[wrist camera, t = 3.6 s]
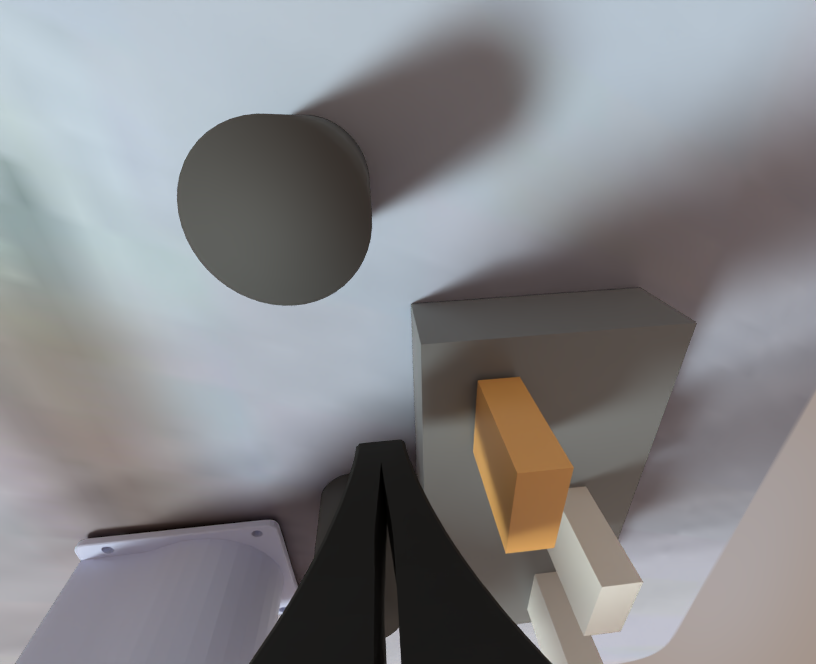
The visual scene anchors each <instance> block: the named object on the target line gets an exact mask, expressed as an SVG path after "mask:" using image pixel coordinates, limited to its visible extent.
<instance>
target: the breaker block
mask: <svg viewBox="0 0 816 664" xmlns="http://www.w3.org/2000/svg"><path fill="white" fill-rule="evenodd" d="M411 319H412V349H413V379H414V409H415V439H416V470H417V478H418V480H419V483H420V485H421V487H422V489H423V491H424V493H425V495H426V496H427V498H428V500H429V502H430V504H431V506H432V508H433V510H434V511H435V513H436V515H437V517H438V518H439V520H440V522H441V523H442V525H443V527H444V529H445V530H446V532H447V533H448V535H449V537H450V538H451V540H452V541H453V543H454V544H455V546H456V547H457V549H458V550H459V552H460V553H461V555H462V556H463V557H464V559H465V560H466V562H467V563H468V565H469V566H470V567H471V569H472V570H473V571H474V573H475V574H476V576H477V577H478V578H479V580H480V581H481V582H482V583H483V585H484V586H485V587H486V588H487V590H488V591H489V592H490V593H491V595H492V596H493V597H494V598H495V600H496V601H497V602H498V603H499V605H500V606H501V607H502V608H503V610H504V611H505V612H506V613H507V614H508V616H509V617H510V618H511V619H512V620H513V621H514V622H515V624H521V623H529V622H532V625H533V628H534V631H535V634H536V637H537V640H538V643H539V646H540V650H541V652H542V654H543V655H544V656H545V657H546V658H547V659H548V660H549V661H550V662H551V663H552V664H603V662H602V659H601V657H600V655H599V653H598V650H597V648H596V646H595V643H594V641H593V639H592V637H591V635H597V634H605V633H612V632H620V631H621V629H622V627H623V625H624V623H625V621H626V618H627V616H628V614H629V612H630V610H631V607H632V605H633V603H634V601H635V599H636V596H637V594H638V592H639V590H640V588H641V585H642V583H643V581H642V579H641V578H640V576H639V574H638V573H637V571H636V569H635V568H634V566H633V564H632V563H631V561H630V559H629V558H628V556H627V554H626V553H625V551H624V549H623V548H622V546H621V544H620V543H619V541H618V537H619V535H620V532H621V529H622V526H623V524H624V521H625V518H626V515H627V513H628V510H629V507H630V505H631V502H632V499H633V496H634V494H635V491H636V488H637V485H638V483H639V480H640V477H641V474H642V472H643V469H644V466H645V463H646V461H647V458H648V455H649V452H650V450H651V447H652V444H653V442H654V439H655V436H656V433H657V431H658V428H659V425H660V422H661V420H662V417H663V414H664V411H665V409H666V406H667V403H668V400H669V398H670V395H671V392H672V389H673V387H674V384H675V381H676V378H677V376H678V373H679V370H680V368H681V365H682V362H683V359H684V357H685V354H686V351H687V348H688V346H689V343H690V340H691V337H692V335H693V332H694V329H695V326H696V324H697V323H696V322H695V321H693V320H692V319H690V318H688V317H687V316H685V315H683V314H682V313H680V312H679V311H677V310H675V309H674V308H672V307H671V306H669V305H667V304H666V303H664V302H663V301H661V300H659V299H658V298H656V297H654V296H653V295H651V294H650V293H648V292H646V291H645V290H643V289H642V288H627V289H613V290H599V291H585V292H571V293H557V294H543V295H529V296H515V297H501V298H487V299H473V300H459V301H445V302H431V303H417V304H411ZM511 377H520V378H521V380H522V381H523V383H524V385H525V386H526V388H527V390H528V392H529V393H530V395H531V397H532V398H533V400H534V402H535V403H536V405H537V407H538V408H539V410H540V412H541V413H542V415H543V417H544V418H545V420H546V422H547V423H548V425H549V427H550V428H551V430H552V432H553V434H554V435H555V437H556V439H557V440H558V442H559V444H560V445H561V447H562V449H563V450H564V452H565V454H566V455H567V457H568V459H569V460H570V462H571V464H572V465H573V467H574V469H573V473H572V477H571V481H570V485H569V490H568V494H567V498H566V502H565V506H564V510H563V514H562V518H561V523H560V527H559V531H558V535H557V539H556V543H555V547H554V548H550V549H541V550H533V551H524V552H515V553H507V554H506V553H505V550H504V547H503V544H502V540H501V537H500V534H499V531H498V528H497V525H496V522H495V519H494V516H493V513H492V509H491V506H490V503H489V500H488V497H487V494H486V491H485V488H484V485H483V481H482V478H481V475H480V472H479V469H478V466H477V463H476V460H475V457H474V454H473V444H474V429H475V413H476V397H477V382H478V380H488V379H499V378H511Z"/></svg>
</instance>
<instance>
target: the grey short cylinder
mask: <svg viewBox="0 0 816 664" xmlns="http://www.w3.org/2000/svg"><path fill="white" fill-rule="evenodd" d="M349 475H350V474H347V475H344V476H341V477H338V478H336V479H334V480H333V481H331V482H330V483H329V484H328V485H327V486H326V487H325V488H324V490H323V492H322V495H321V503H320V511H319V520H318V529H317V537H316V546H315V554H314V557H315V555H316V553H317V551H318V549H319V547H320V545H321V543H322V541H323V539H324V537H325V535H326V533H327V530H328V528H329V526H330V524H331V521H332V519H333V517H334V515H335V512H336V510H337V508H338V505H339V502H340V500H341V497H342V495H343V492H344V489H345V487H346V484H347V481H348V478H349ZM398 628H399V615H398V599H397V587H396V580H395V573H394V567H393V560H392V553H391V546H390V540H389V533H388V526H387V547H386V579H385V638H386V637H388V636H389V635H391V634H392V633H394V632H395V631H396V630H397V629H398Z"/></svg>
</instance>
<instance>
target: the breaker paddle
mask: <svg viewBox="0 0 816 664" xmlns="http://www.w3.org/2000/svg"><path fill="white" fill-rule="evenodd" d="M473 454H474V457H475V460H476V463H477V466H478V469H479V472H480V475H481V478H482V481H483V485H484V488H485V491H486V494H487V497H488V500H489V503H490V506H491V509H492V513H493V516H494V519H495V522H496V525H497V528H498V531H499V534H500V537H501V540H502V544H503V547H504V550H505V553H506V554H507V553H515V552H524V551H533V550H541V549H550V548H554V547H555V543H556V539H557V535H558V531H559V527H560V523H561V518H562V514H563V510H564V506H565V502H566V498H567V494H568V490H569V485H570V481H571V477H572V473H573V469H574V467H573V465H572V464H571V462H570V460H569V459H568V457H567V455H566V454H565V452H564V450H563V449H562V447H561V445H560V444H559V442H558V440H557V439H556V437H555V435H554V434H553V432H552V430H551V428H550V427H549V425H548V423H547V422H546V420H545V418H544V417H543V415H542V413H541V412H540V410H539V408H538V407H537V405H536V403H535V402H534V400H533V398H532V397H531V395H530V393H529V392H528V390H527V388H526V386H525V385H524V383H523V381H522V380H521V378H520V377H511V378H499V379H488V380H478V382H477V397H476V413H475V429H474V444H473Z"/></svg>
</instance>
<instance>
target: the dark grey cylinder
mask: <svg viewBox="0 0 816 664" xmlns="http://www.w3.org/2000/svg"><path fill="white" fill-rule="evenodd" d="M177 204H178V213H179V217H180V221H181V226H182V228H183V231H184V234H185V236H186V239H187V241H188V242H189V244H190V246H191V248H192V250H193V252H194V253H195V254H196V256H197V257H198V259H199V260H200V262H201V263H202V264H203V265H204V266H205V267H206V269H207V270H208V271H209V272H210V273H211V274H213V275H214V276H215V277H216V278H217V279H218V280H219V281H221V282H222V283H223V284H225V285H226V286H227V287H229V288H231V289H232V290H234V291H236V292H237V293H239V294H241V295H244V296H246V297H248V298H250V299H253V300H256V301H259V302H263V303H268V304H274V305H283V306H284V305H301V304H307V303H311V302H315V301H318V300H320V299H323V298H325V297H327V296H329V295H331V294H333V293H335V292H336V291H337V290H339V289H340V288H341V287H343V286H344V285H345V284H346V283H347V282H348V281H349V280H350V279H351V278H352V277H353V276H354V274H355V273H356V272H357V271H358V269H359V267H360V266H361V264H362V262H363V260H364V258H365V255H366V253H367V251H368V247H369V243H370V239H371V231H372V212H371V198H370V183H369V173H368V168H367V164H366V161H365V158H364V156H363V153H362V152H361V150H360V148H359V146H358V145H357V143H356V142H355V141H354V139H353V138H352V137H351V136H350V135H349V134H348V133H347V132H346V131H345V130H343V129H342V128H341V127H339V126H338V125H336V124H335V123H333V122H331V121H329V120H327V119H324V118H321V117H316V116H311V115H282V114H250V115H243V116H239V117H235V118H232V119H229V120H227V121H225V122H222V123H220V124H218V125H217V126H215V127H214V128H212V129H211V130H209V131H208V132H206V133H205V134H204V135H203V136H202V137H201V138H200V139H199V140H198V141H197V142H196V144H195V145H194V146H193V148H192V149H191V150H190V152H189V154H188V156H187V157H186V159H185V161H184V164H183V167H182V169H181V172H180V176H179V182H178V187H177Z"/></svg>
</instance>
